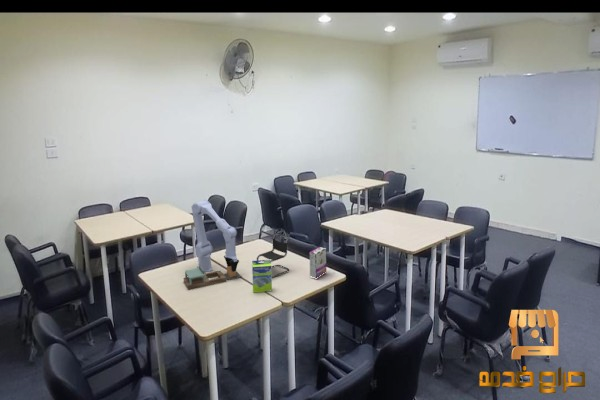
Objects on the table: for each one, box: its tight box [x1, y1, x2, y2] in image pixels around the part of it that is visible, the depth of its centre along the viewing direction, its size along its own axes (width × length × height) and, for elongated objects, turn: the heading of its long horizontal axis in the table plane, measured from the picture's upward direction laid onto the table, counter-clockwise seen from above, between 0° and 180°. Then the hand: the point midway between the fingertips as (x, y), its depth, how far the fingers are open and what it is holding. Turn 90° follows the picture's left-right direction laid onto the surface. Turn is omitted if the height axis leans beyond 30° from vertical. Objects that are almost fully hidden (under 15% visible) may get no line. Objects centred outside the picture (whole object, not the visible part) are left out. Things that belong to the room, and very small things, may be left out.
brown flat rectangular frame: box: [183, 270, 227, 291], centre depth 228 cm, size 12×22×2 cm, turn 118°
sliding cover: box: [184, 264, 206, 285], centre depth 225 cm, size 12×9×6 cm
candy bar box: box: [309, 246, 327, 278], centre depth 234 cm, size 11×5×16 cm, turn 143°
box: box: [251, 259, 273, 293], centre depth 215 cm, size 10×4×17 cm, turn 100°
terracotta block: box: [226, 265, 237, 277], centre depth 235 cm, size 4×4×6 cm
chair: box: [256, 232, 291, 278], centre depth 239 cm, size 13×17×22 cm
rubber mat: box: [223, 270, 242, 281], centre depth 236 cm, size 9×9×1 cm
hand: (231, 269), depth 235 cm, fingers open, 7 cm apart
